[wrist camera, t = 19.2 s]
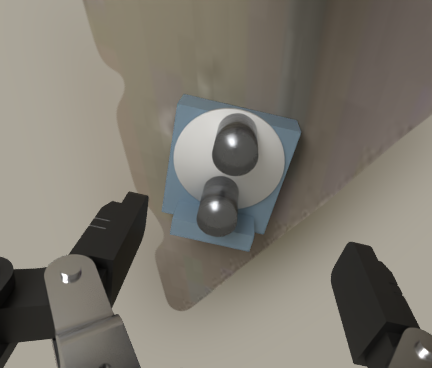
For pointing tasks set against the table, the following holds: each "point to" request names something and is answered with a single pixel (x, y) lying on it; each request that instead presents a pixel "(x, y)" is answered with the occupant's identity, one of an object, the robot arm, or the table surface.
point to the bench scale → (205, 169)
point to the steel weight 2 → (218, 207)
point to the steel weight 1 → (235, 145)
